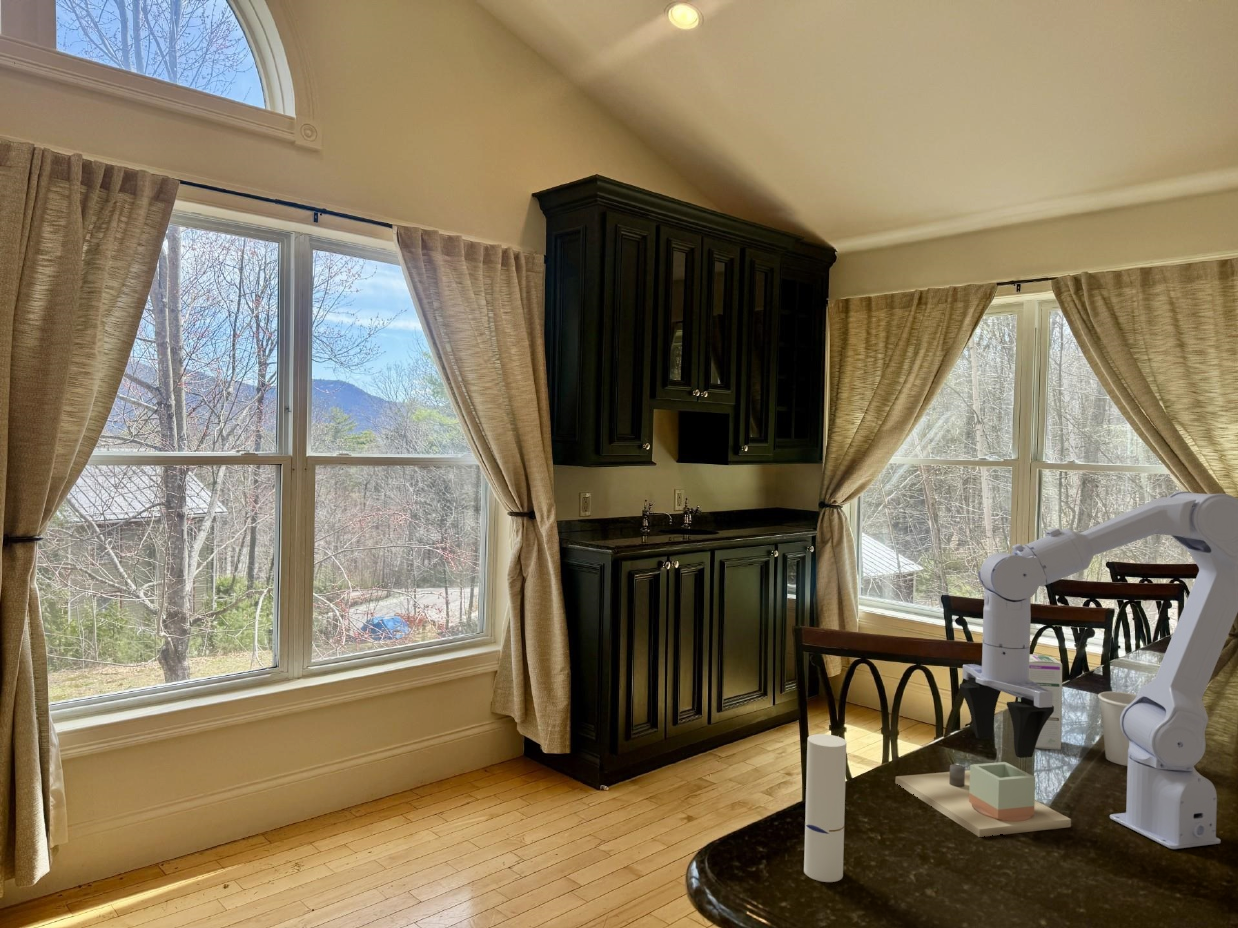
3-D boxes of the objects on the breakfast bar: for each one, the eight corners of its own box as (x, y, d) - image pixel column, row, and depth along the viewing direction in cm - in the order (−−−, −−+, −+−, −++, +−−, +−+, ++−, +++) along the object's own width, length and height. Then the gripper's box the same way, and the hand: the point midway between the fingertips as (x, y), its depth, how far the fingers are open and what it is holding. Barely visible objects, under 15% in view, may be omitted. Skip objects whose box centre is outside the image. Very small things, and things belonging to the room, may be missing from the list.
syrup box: (1062, 750, 140) (1065, 662, 140) (1024, 746, 141) (1026, 660, 141) (1052, 739, 146) (1054, 655, 146) (1015, 736, 147) (1017, 652, 147)
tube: (836, 863, 98) (840, 734, 98) (847, 881, 94) (851, 746, 94) (799, 863, 98) (803, 733, 98) (809, 881, 94) (813, 746, 94)
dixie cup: (1166, 772, 131) (1168, 707, 131) (1107, 766, 133) (1108, 703, 133) (1144, 754, 139) (1146, 693, 139) (1088, 749, 141) (1090, 689, 141)
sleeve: (1034, 815, 110) (1035, 776, 110) (997, 818, 109) (998, 780, 109) (1004, 798, 116) (1005, 761, 116) (969, 801, 114) (970, 764, 114)
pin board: (1070, 826, 110) (1071, 799, 110) (979, 836, 106) (980, 809, 106) (976, 775, 127) (977, 752, 127) (895, 783, 124) (896, 759, 123)
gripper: (945, 633, 118) (942, 730, 118) (1020, 657, 104) (1017, 768, 104) (987, 632, 120) (985, 727, 120) (1067, 655, 106) (1064, 763, 106)
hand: (1003, 746), depth 112 cm, fingers open, 7 cm apart
